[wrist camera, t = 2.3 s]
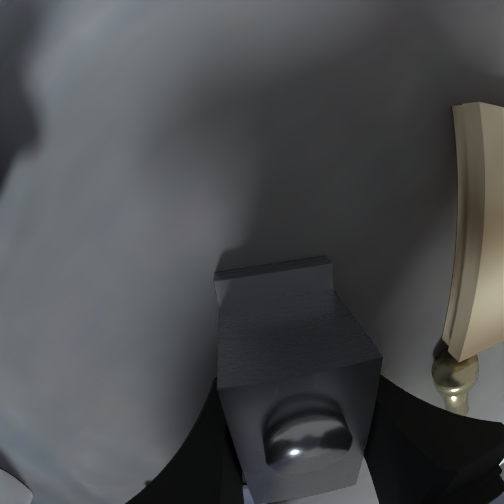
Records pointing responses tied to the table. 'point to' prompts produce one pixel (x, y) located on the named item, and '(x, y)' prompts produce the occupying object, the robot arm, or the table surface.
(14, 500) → the white plastic container
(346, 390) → the housing
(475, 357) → the loose bolt
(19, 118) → the table surface
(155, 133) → the table surface
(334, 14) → the table surface
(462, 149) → the stand
